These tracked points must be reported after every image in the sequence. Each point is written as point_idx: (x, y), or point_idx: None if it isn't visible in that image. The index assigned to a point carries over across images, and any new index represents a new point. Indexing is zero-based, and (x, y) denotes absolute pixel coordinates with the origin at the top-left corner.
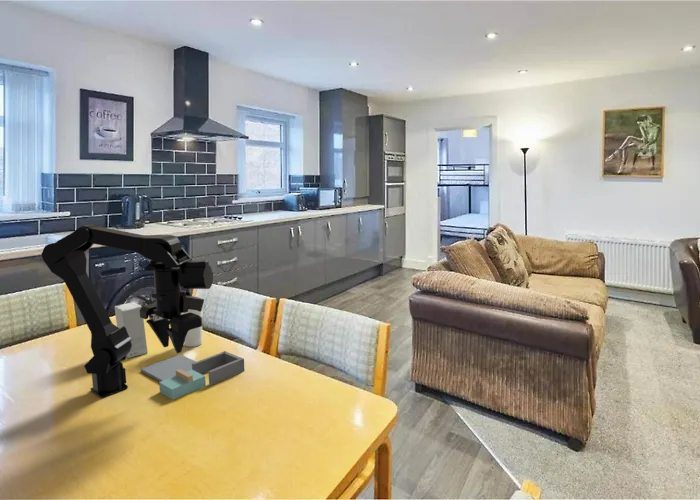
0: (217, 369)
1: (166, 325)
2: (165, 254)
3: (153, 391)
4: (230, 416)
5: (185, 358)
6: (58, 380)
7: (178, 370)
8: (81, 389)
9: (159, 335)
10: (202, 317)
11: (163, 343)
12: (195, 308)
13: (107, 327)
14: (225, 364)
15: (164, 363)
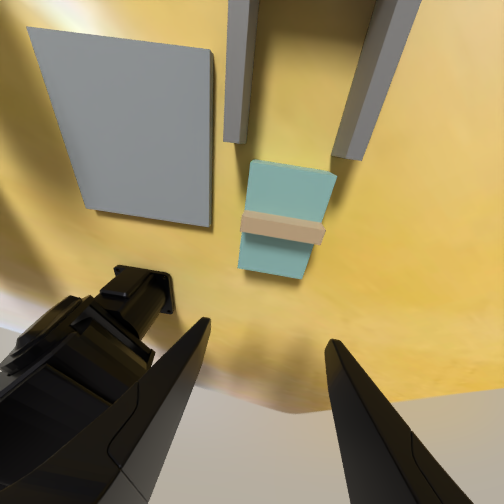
0: (376, 120)
1: (116, 496)
2: None
3: (226, 258)
4: (497, 256)
5: (84, 48)
6: (46, 302)
7: (249, 227)
8: None
9: (176, 425)
10: None
11: (202, 354)
12: None
13: None
14: (387, 37)
15: (87, 142)
